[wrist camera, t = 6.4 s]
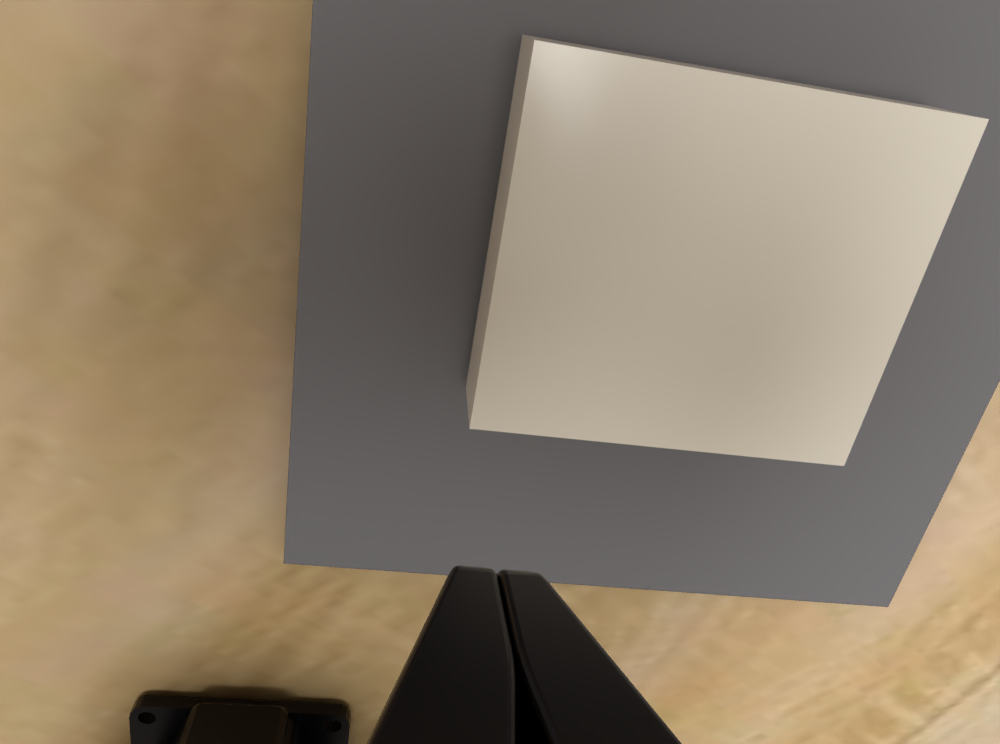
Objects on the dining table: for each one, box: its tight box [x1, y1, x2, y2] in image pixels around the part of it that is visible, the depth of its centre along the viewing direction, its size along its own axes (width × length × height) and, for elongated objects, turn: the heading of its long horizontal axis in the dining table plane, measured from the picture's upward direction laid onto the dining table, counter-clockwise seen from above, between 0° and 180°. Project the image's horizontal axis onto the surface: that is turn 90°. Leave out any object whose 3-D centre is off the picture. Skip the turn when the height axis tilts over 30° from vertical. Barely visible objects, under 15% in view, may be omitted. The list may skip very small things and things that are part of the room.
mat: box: [284, 0, 1000, 607], centre depth 18 cm, size 20×18×1 cm
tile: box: [466, 34, 989, 466], centre depth 17 cm, size 8×2×9 cm
